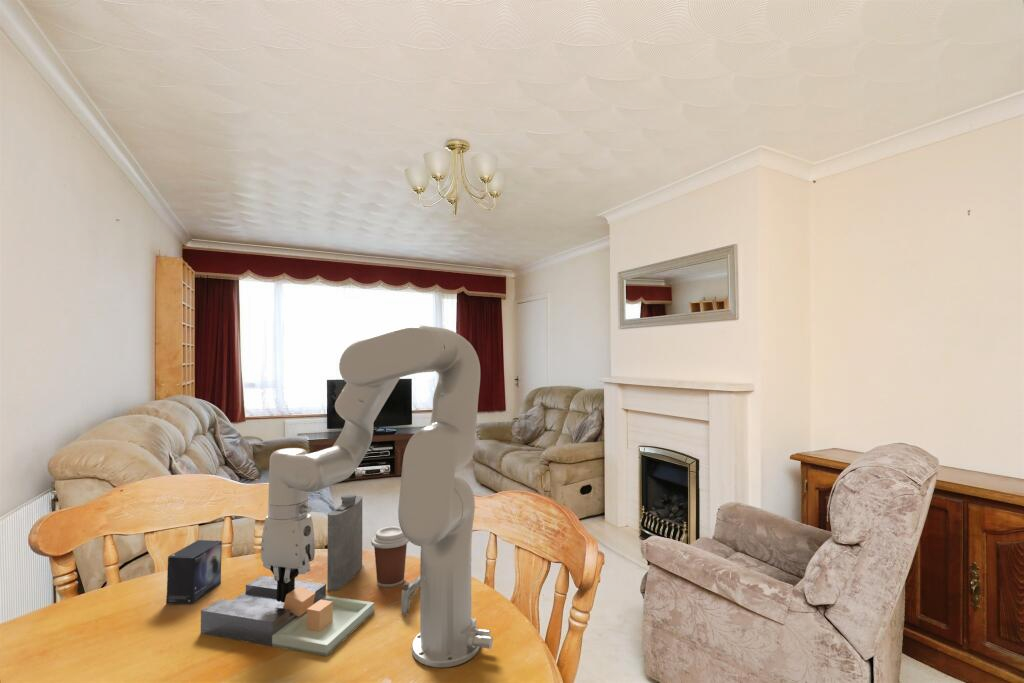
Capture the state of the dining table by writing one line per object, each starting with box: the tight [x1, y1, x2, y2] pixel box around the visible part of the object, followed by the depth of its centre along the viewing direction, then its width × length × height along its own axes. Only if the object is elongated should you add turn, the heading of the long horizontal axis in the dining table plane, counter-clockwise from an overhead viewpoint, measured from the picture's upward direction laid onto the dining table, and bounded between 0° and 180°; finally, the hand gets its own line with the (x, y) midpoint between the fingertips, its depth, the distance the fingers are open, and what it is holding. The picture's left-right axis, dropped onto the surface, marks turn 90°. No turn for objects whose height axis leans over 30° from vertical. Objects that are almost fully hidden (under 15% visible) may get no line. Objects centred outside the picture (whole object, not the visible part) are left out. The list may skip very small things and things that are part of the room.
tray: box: [271, 595, 375, 657], centre depth 98 cm, size 12×16×2 cm
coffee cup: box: [370, 526, 410, 588], centre depth 119 cm, size 9×9×12 cm
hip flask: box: [326, 493, 363, 592], centre depth 122 cm, size 16×4×20 cm, turn 175°
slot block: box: [200, 575, 327, 647], centre depth 102 cm, size 17×16×4 cm
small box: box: [165, 539, 223, 605], centre depth 114 cm, size 11×6×10 cm, turn 179°
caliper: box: [400, 575, 420, 616], centre depth 113 cm, size 20×1×6 cm, turn 176°
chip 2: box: [307, 599, 333, 632], centre depth 98 cm, size 4×4×3 cm
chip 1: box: [283, 586, 315, 616], centre depth 100 cm, size 4×4×3 cm
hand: (285, 598), depth 101 cm, fingers closed
